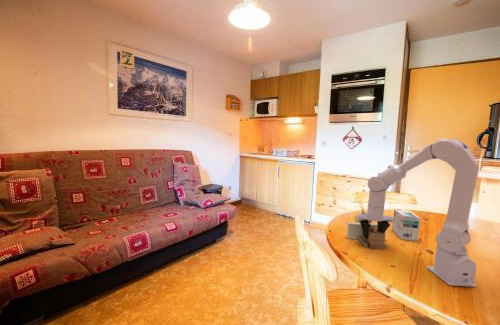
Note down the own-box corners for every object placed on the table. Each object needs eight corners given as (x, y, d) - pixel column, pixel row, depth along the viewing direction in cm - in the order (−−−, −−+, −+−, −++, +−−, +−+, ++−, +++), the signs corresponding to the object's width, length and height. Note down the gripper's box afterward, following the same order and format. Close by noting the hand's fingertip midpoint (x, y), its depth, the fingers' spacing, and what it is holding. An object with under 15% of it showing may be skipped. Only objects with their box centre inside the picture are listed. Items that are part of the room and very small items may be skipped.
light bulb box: (418, 241, 97) (421, 217, 96) (400, 239, 98) (404, 215, 97) (406, 231, 107) (409, 209, 106) (390, 229, 109) (393, 208, 107)
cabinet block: (383, 249, 89) (385, 232, 88) (370, 249, 89) (372, 232, 88) (372, 240, 97) (374, 224, 96) (361, 239, 97) (362, 224, 96)
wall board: (396, 248, 90) (398, 232, 89) (355, 246, 90) (356, 230, 89) (383, 238, 99) (384, 223, 98) (345, 236, 99) (347, 222, 98)
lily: (364, 230, 109) (377, 214, 108) (344, 214, 117) (355, 199, 115) (371, 231, 118) (382, 216, 116) (351, 216, 126) (362, 202, 124)
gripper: (388, 203, 95) (384, 234, 96) (353, 202, 95) (350, 232, 96) (398, 209, 88) (394, 242, 89) (361, 207, 88) (358, 240, 89)
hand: (372, 237), depth 92 cm, fingers closed on cabinet block, 5 cm apart
